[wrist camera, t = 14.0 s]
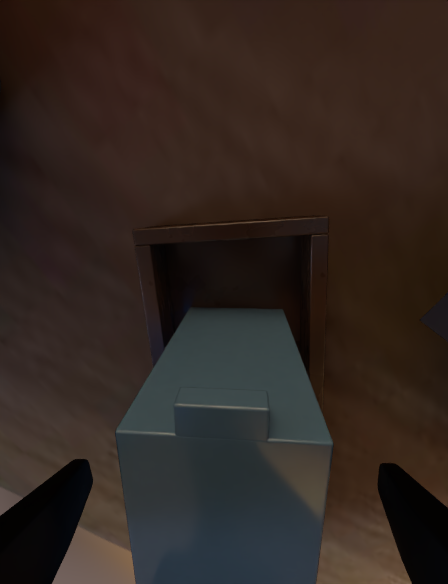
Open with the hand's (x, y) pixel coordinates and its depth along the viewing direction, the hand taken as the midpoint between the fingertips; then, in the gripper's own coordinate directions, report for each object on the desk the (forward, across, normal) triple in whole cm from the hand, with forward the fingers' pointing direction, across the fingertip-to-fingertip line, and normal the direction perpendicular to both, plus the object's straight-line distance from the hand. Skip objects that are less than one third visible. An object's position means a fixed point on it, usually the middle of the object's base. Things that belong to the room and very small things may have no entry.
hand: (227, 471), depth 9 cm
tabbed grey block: (+9, 0, +2) cm, 9 cm away
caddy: (+10, 0, 0) cm, 10 cm away
